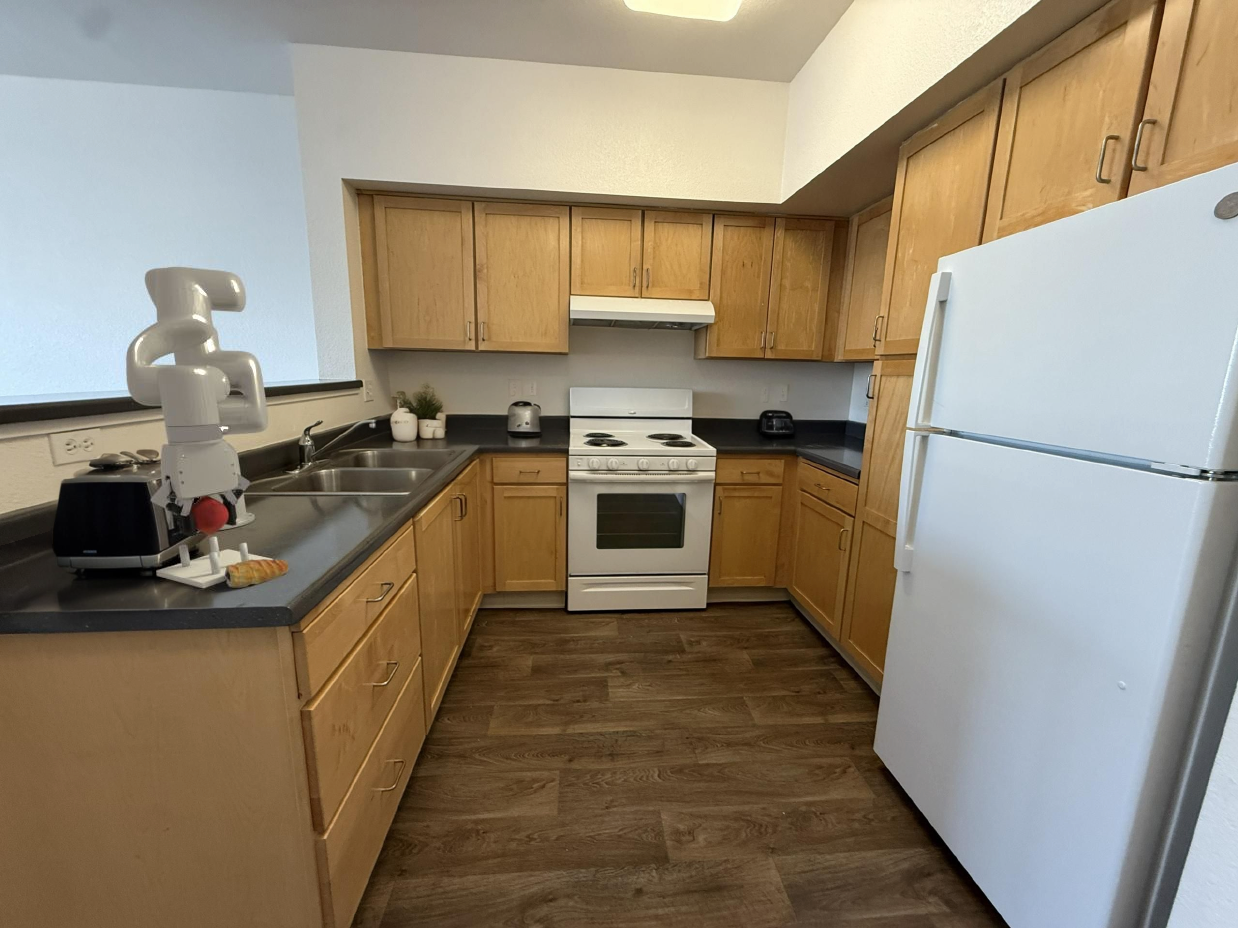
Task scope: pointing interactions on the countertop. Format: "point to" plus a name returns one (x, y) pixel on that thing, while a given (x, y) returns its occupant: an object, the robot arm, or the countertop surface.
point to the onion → (209, 515)
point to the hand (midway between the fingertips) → (210, 528)
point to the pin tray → (206, 565)
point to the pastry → (254, 572)
